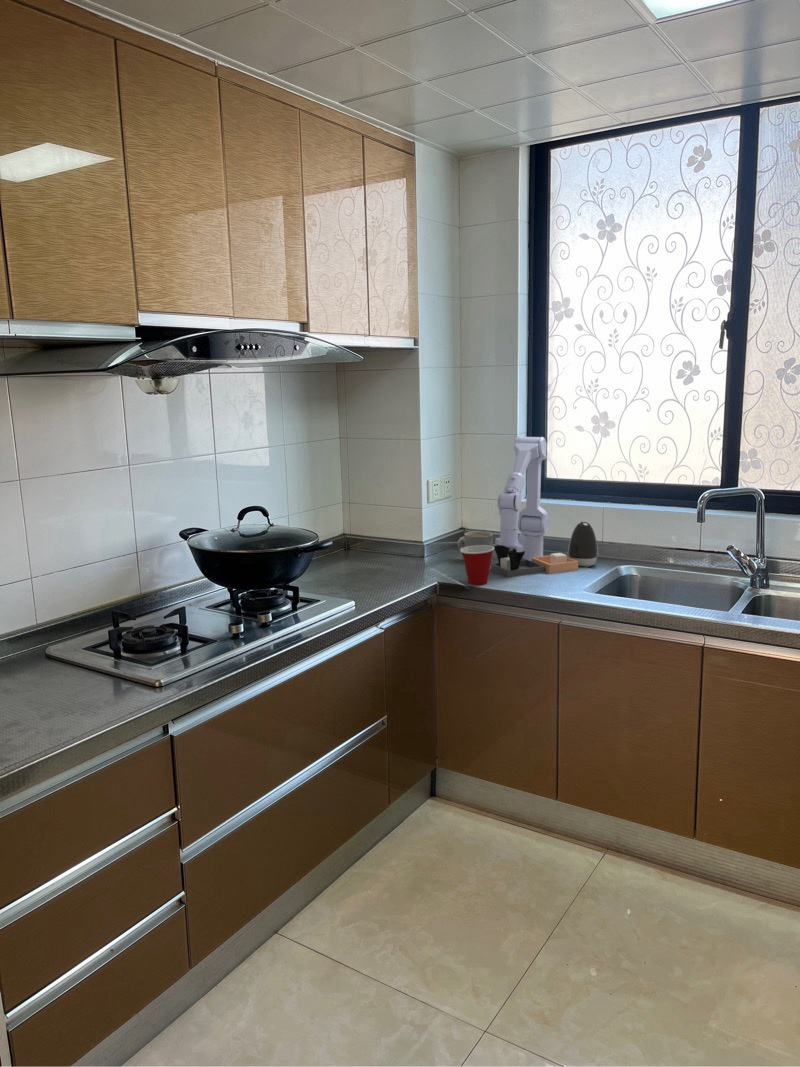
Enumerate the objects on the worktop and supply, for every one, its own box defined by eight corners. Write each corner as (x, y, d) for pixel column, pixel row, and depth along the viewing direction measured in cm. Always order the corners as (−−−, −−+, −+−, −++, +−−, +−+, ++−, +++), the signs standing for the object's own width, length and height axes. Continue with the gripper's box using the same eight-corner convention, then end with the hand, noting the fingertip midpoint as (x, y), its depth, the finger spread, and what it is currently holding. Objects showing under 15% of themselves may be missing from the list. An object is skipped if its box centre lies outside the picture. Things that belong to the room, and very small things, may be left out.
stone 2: (549, 566, 271) (550, 553, 271) (559, 565, 273) (560, 552, 272) (556, 569, 268) (556, 556, 267) (566, 568, 269) (566, 555, 268)
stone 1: (500, 571, 267) (500, 558, 266) (510, 570, 268) (510, 557, 267) (506, 574, 263) (506, 560, 262) (516, 572, 264) (517, 559, 264)
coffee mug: (498, 561, 282) (498, 534, 280) (478, 566, 276) (478, 538, 274) (471, 555, 292) (471, 528, 290) (451, 560, 286) (451, 532, 284)
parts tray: (490, 571, 269) (490, 563, 269) (527, 566, 275) (527, 559, 274) (507, 579, 259) (507, 571, 259) (545, 574, 264) (545, 566, 264)
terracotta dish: (531, 567, 273) (531, 557, 272) (559, 564, 277) (559, 554, 276) (549, 575, 263) (549, 564, 262) (578, 571, 267) (578, 561, 266)
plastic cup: (462, 579, 260) (462, 543, 257) (495, 580, 258) (495, 544, 255) (457, 588, 249) (457, 550, 247) (492, 589, 247) (492, 551, 245)
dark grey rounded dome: (595, 561, 280) (596, 519, 277) (599, 569, 270) (601, 524, 267) (565, 561, 281) (567, 519, 278) (569, 568, 271) (570, 524, 268)
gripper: (487, 526, 268) (487, 565, 270) (509, 533, 254) (509, 575, 257) (506, 524, 270) (505, 563, 273) (528, 531, 257) (528, 572, 260)
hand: (508, 569), depth 265 cm, fingers open, 7 cm apart
